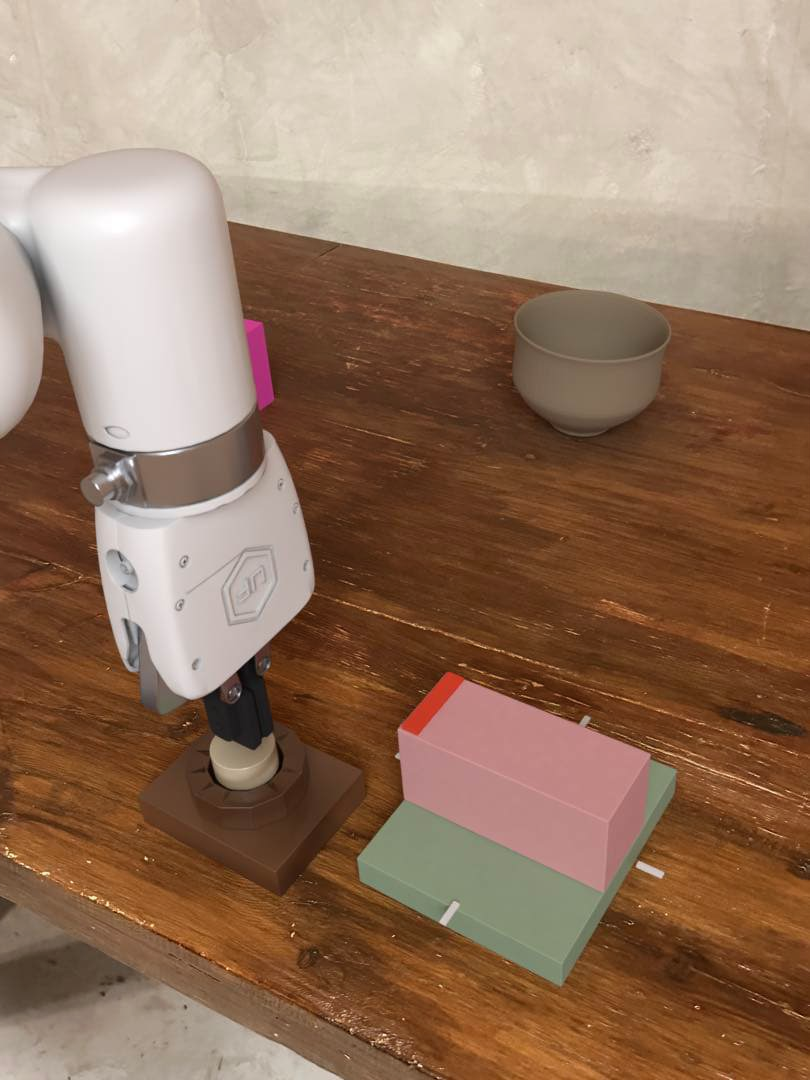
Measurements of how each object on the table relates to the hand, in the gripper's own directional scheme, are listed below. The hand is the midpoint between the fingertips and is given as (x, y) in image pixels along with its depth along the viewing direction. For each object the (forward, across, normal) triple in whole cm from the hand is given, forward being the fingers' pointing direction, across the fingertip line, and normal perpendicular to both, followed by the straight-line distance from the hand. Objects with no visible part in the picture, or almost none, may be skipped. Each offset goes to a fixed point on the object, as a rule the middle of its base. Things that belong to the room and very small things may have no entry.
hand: (243, 731), depth 61 cm
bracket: (+6, +32, +34) cm, 47 cm away
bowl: (+7, +47, +2) cm, 47 cm away
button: (+3, 0, 0) cm, 3 cm away
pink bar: (+4, +6, -14) cm, 16 cm away
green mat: (+6, +6, -14) cm, 16 cm away
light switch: (+6, 0, 0) cm, 6 cm away
